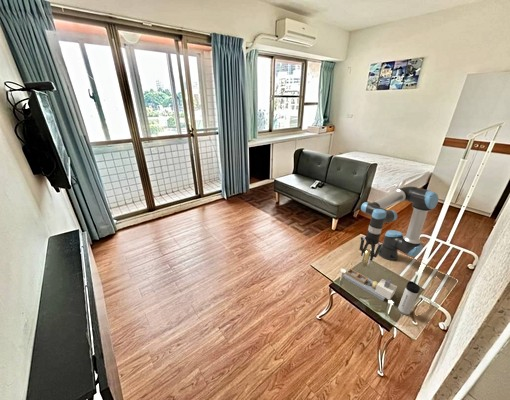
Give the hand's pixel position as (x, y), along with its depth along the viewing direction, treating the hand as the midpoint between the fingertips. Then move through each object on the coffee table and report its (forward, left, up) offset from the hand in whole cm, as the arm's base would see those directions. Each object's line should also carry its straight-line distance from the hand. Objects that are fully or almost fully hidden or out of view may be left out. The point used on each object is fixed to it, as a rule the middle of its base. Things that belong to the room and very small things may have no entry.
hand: (365, 262), depth 150 cm
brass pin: (0, 0, -3) cm, 3 cm away
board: (0, +4, -17) cm, 17 cm away
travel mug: (+4, +29, -17) cm, 34 cm away
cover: (0, +16, -15) cm, 22 cm away
